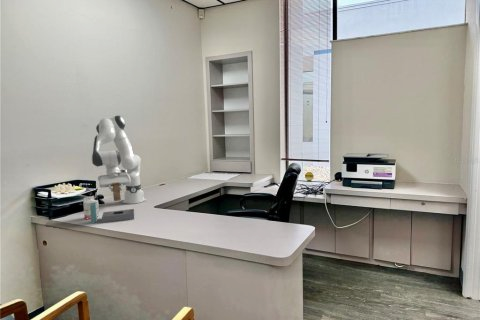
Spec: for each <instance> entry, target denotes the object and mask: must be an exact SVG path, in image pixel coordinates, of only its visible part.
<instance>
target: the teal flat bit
mask: <svg viewBox="0 0 480 320" xmlns="http://www.w3.org/2000/svg"><path fill="white" fill-rule="evenodd" d="M90 211H91V219H90V222H91V224H94V223H93V222H96V223H97V221H98V217H97V216H96V204H95V203H91V205H90ZM96 220H97V221H96Z"/></svg>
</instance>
